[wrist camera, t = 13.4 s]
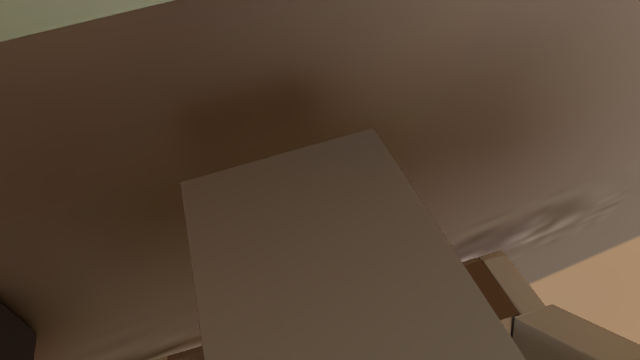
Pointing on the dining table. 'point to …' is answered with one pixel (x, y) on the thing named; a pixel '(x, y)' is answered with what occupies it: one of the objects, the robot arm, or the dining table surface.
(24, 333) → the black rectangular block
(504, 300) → the robot arm
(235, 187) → the block
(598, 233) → the dining table surface
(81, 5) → the lid
